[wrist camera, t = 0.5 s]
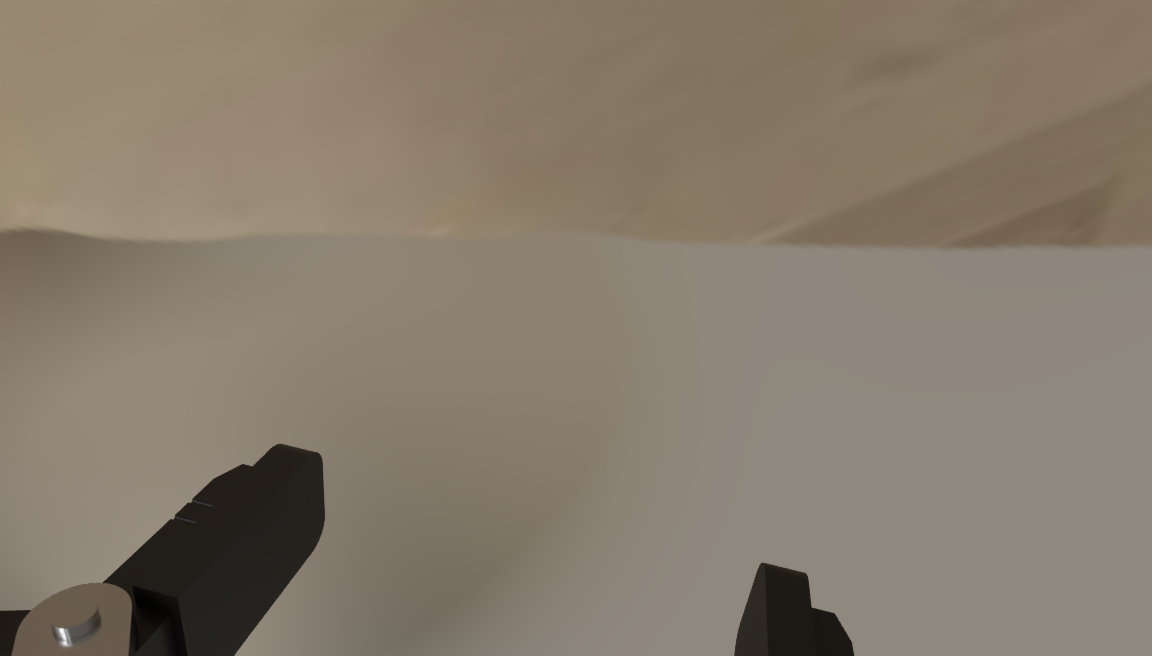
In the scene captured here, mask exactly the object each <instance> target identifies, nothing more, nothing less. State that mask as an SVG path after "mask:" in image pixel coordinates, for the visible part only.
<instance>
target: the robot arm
mask: <svg viewBox="0 0 1152 656" xmlns="http://www.w3.org/2000/svg"><path fill="white" fill-rule="evenodd" d="M323 485H324V484H323V463H322V458H321V455H320V454H319V453H317V452H313V451H308V450H304V449H300V448H296V447H292V446H288V445H284V444H277V445H275V446H273V447H272V448H271V449H270V450H269V451H268V452H267V453H266V454H265V455H264V456H263V457H262V458H261V459H260V460H259V461H258V462H257V463H256V464H255V465H254V466H253V467H252V466H248V465H244V464H242V465H240V466H238V467H236V468H234V469H232V470H230V471H228V472H226V473H224V474H222V475H220V476H218V477H216V478H214V479H213V480H212V481H211V482H210V483H209V484H208V485H207V486H206V487H204V488H203V489H202V490H201V491H200V492H199V493H198V494H197V495H196V496H195V497H194V498H193V500H192V502H191V503H187V504H186V505H185V506H184V507H183V508H182V509H181V510H180V511H179V512H178V513H177V514H176V515H175V518H174V519H173V520H172V519H170V520H169V521H168V522H167V523H166V524H165V525H164V526H163V527H162V528H161V529H160V530H159V531H157V532H156V533H155V534H154V535H153V536H152V537H151V538H150V539H149V540H148V541H147V542H146V543H145V544H144V545H143V546H142V547H140V548H139V549H138V550H137V551H136V552H135V553H134V554H133V555H132V556H131V557H130V558H129V559H128V560H127V561H126V562H124V563H123V564H122V565H121V566H120V567H119V568H118V569H117V570H116V571H115V572H114V573H113V574H112V575H111V576H109V577H108V578H107V579H106V580H105V581H104V582H103V583H89V584H82V585H78V586H74V587H71V588H68V589H65V590H63V591H60V592H58V593H56V594H54V595H52V596H50V597H49V598H47V599H45V600H44V601H42V602H41V603H40V604H38V605H37V606H36V607H35V608H33V609H32V610H17V611H0V656H234V655H235V654H236V652H237V651H238V649H239V648H240V647H241V646H242V644H243V643H244V642H245V640H246V639H247V638H248V636H249V635H250V634H251V632H252V631H253V630H254V628H255V627H256V626H257V625H258V623H259V622H260V621H261V619H262V618H263V616H264V615H265V614H266V613H267V611H268V610H269V609H270V607H271V606H272V605H273V603H274V602H275V601H276V599H277V598H278V597H279V595H280V594H281V593H282V592H283V590H284V589H285V588H286V586H287V585H288V584H289V582H290V581H291V579H292V578H293V577H294V576H295V574H296V573H297V572H298V570H299V569H300V568H301V566H302V565H303V564H304V562H305V561H306V559H307V558H308V557H309V556H310V555H311V553H312V552H313V550H314V549H315V547H316V545H317V543H318V541H319V539H320V536H321V534H322V530H323V527H324V521H325V507H324V486H323ZM734 656H854V652H853V646H852V642H851V640H850V638H849V637H848V635H847V633H846V632H845V630H844V628H843V627H842V625H841V623H840V622H839V620H838V618H837V617H836V615H835V614H834V613H831V612H827V611H823V610H818V609H815V608H812V607H811V599H810V589H809V581H808V576H807V574H806V573H803V572H799V571H795V570H791V569H787V568H783V567H778V566H775V565H771V564H767V563H761V564H760V566H759V568H758V570H757V574H756V577H755V580H754V583H753V586H752V589H751V592H750V595H749V598H748V601H747V604H746V607H745V610H744V613H743V616H742V619H741V622H740V626H739V630H738V634H737V639H736V646H735V654H734Z"/></svg>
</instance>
